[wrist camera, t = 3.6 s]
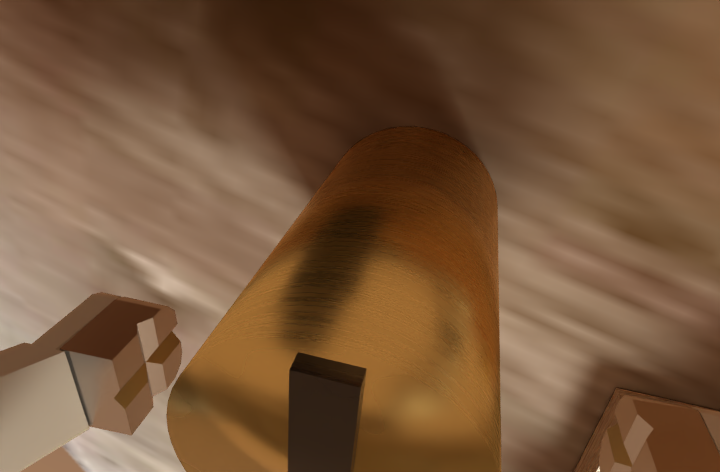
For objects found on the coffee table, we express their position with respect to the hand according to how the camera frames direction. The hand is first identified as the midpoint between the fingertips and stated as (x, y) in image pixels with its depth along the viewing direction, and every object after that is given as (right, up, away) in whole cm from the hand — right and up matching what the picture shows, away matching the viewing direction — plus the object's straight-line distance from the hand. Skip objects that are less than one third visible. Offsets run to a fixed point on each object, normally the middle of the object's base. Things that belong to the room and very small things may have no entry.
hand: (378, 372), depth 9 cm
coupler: (+1, +3, +3) cm, 4 cm away
